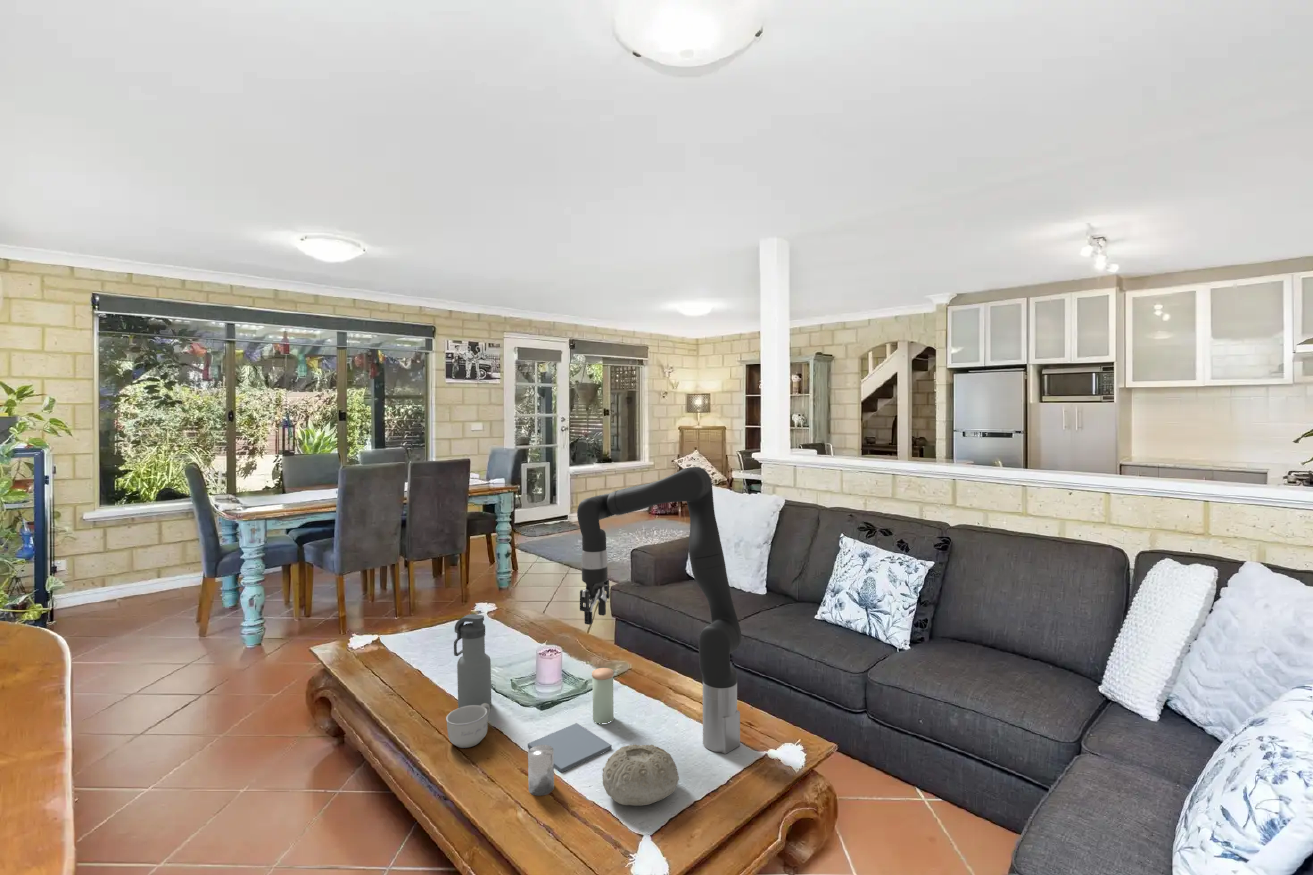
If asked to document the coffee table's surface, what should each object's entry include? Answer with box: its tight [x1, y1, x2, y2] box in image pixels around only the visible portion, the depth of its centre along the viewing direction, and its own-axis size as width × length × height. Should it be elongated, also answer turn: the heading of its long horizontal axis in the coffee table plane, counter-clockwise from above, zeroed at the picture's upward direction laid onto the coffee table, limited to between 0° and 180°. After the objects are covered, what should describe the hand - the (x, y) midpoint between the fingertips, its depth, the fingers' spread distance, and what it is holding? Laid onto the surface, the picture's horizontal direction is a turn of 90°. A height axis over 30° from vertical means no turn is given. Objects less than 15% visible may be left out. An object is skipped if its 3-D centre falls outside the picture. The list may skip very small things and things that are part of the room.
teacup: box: [445, 703, 491, 749], centre depth 172 cm, size 14×11×8 cm
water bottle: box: [453, 613, 492, 709], centre depth 190 cm, size 10×10×28 cm
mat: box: [527, 722, 612, 773], centre depth 168 cm, size 16×16×1 cm
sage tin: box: [591, 667, 615, 725], centre depth 183 cm, size 6×6×14 cm
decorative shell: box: [602, 743, 680, 807], centre depth 148 cm, size 18×18×10 cm
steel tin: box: [527, 745, 555, 797], centre depth 150 cm, size 6×6×9 cm
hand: (595, 619), depth 185 cm, fingers open, 8 cm apart
